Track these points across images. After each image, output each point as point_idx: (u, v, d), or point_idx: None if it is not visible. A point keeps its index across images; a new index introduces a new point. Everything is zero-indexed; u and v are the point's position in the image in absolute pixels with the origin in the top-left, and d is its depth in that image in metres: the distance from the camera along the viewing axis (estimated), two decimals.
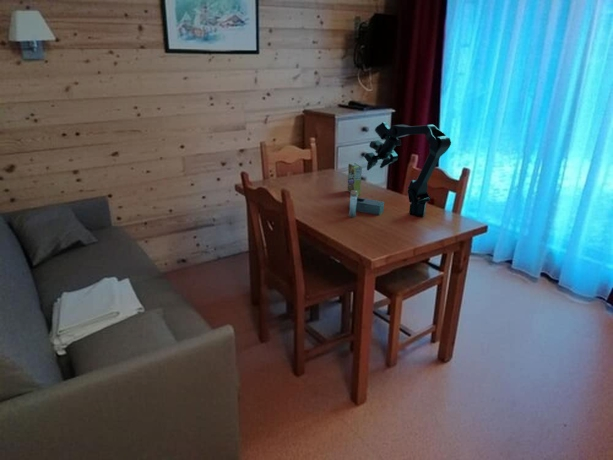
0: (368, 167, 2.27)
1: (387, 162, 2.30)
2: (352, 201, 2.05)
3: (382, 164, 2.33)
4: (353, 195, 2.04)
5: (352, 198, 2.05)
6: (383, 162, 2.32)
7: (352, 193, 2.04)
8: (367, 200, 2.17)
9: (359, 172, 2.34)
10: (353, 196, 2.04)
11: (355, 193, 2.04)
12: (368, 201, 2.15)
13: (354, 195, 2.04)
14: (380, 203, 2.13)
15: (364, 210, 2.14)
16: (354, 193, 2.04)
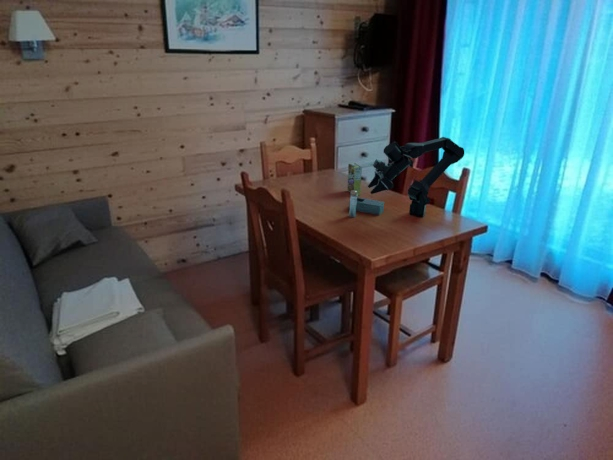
0: (375, 191, 1.99)
1: None
2: (352, 201, 2.05)
3: (372, 183, 2.08)
4: (353, 195, 2.04)
5: (352, 198, 2.05)
6: (373, 181, 2.08)
7: (352, 193, 2.04)
8: (367, 200, 2.17)
9: (359, 172, 2.34)
10: (353, 196, 2.04)
11: (355, 193, 2.04)
12: (368, 201, 2.15)
13: (354, 195, 2.04)
14: (380, 203, 2.13)
15: (364, 210, 2.14)
16: (354, 193, 2.04)
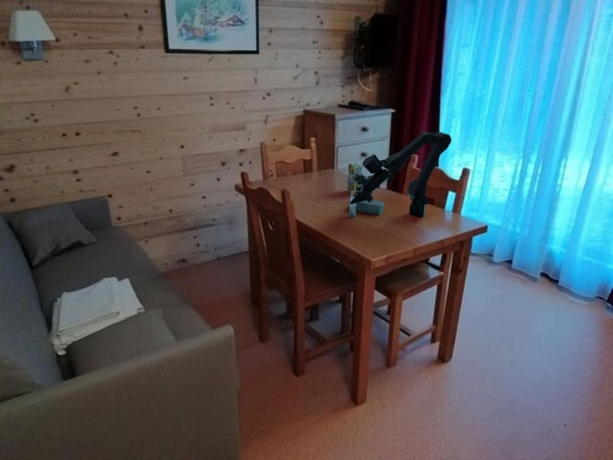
0: (354, 201, 2.04)
1: None
2: None
3: None
4: (353, 195, 2.04)
5: (352, 198, 2.05)
6: None
7: (352, 193, 2.04)
8: None
9: (359, 172, 2.34)
10: (353, 196, 2.04)
11: (355, 193, 2.04)
12: None
13: (354, 195, 2.04)
14: (380, 203, 2.13)
15: (364, 210, 2.14)
16: (354, 193, 2.04)
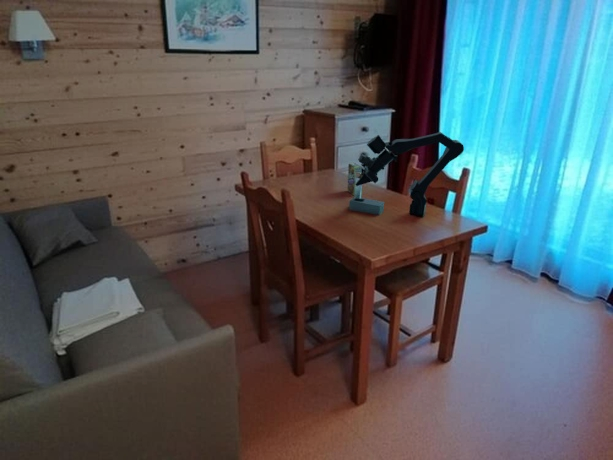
0: (360, 183, 2.08)
1: None
2: None
3: None
4: (358, 177, 2.08)
5: (357, 180, 2.08)
6: None
7: (357, 175, 2.08)
8: (367, 200, 2.17)
9: None
10: (358, 178, 2.08)
11: (360, 175, 2.07)
12: (368, 201, 2.15)
13: (359, 177, 2.08)
14: (380, 203, 2.13)
15: (364, 210, 2.14)
16: (359, 175, 2.07)
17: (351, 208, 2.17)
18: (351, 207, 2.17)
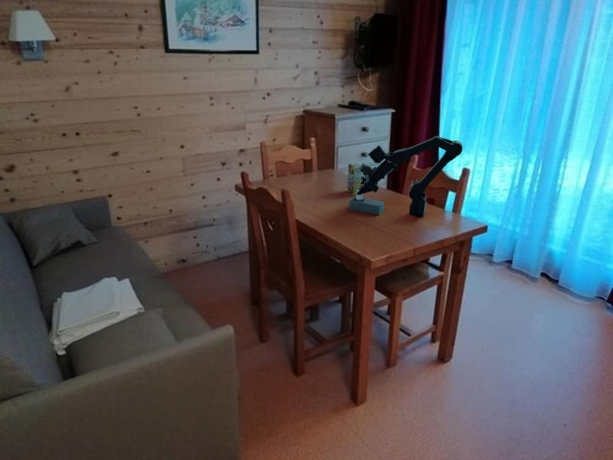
0: (361, 192, 2.12)
1: None
2: None
3: None
4: (359, 189, 2.14)
5: None
6: None
7: (358, 187, 2.14)
8: (367, 200, 2.17)
9: (359, 172, 2.34)
10: (359, 189, 2.14)
11: (361, 187, 2.13)
12: (368, 201, 2.15)
13: None
14: (380, 203, 2.13)
15: (364, 210, 2.14)
16: (360, 187, 2.13)
17: (351, 208, 2.17)
18: (351, 207, 2.17)
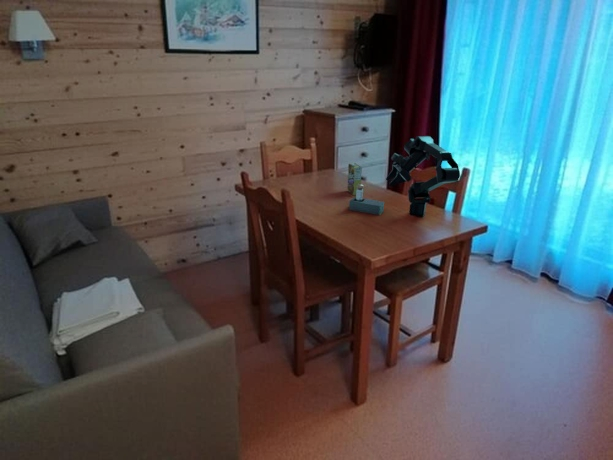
0: (393, 183, 2.08)
1: (396, 174, 2.17)
2: (358, 194, 2.15)
3: (390, 176, 2.17)
4: (359, 189, 2.14)
5: (358, 192, 2.15)
6: (391, 174, 2.17)
7: (358, 187, 2.14)
8: (367, 200, 2.17)
9: (359, 172, 2.34)
10: (359, 189, 2.14)
11: (361, 187, 2.13)
12: (368, 201, 2.15)
13: (360, 189, 2.14)
14: (380, 203, 2.13)
15: (364, 210, 2.14)
16: (360, 187, 2.13)
17: (351, 208, 2.17)
18: (351, 207, 2.17)
